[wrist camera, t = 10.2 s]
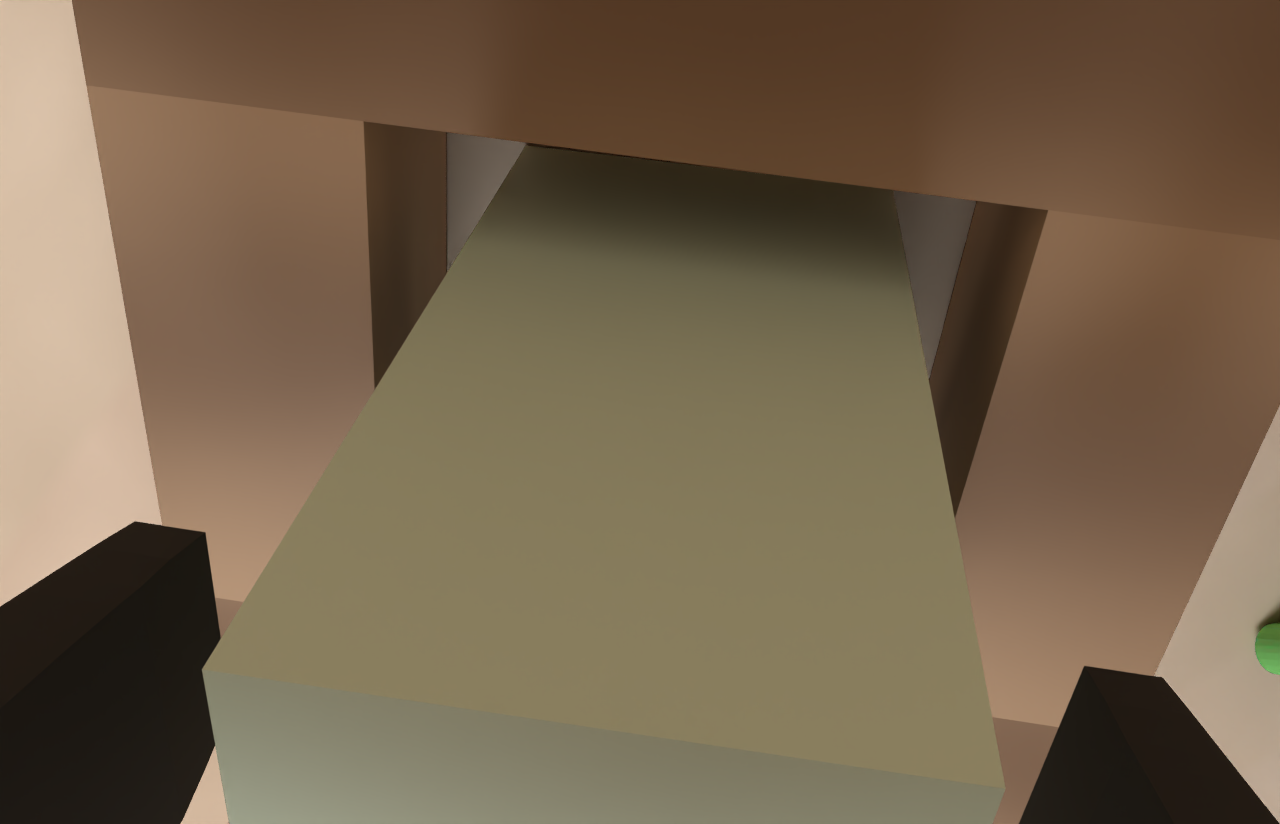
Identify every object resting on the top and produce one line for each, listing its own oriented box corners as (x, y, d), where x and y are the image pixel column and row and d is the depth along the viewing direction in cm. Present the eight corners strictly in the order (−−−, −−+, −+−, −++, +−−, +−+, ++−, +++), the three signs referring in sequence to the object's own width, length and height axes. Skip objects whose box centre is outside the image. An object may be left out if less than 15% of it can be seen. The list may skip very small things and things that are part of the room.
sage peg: (829, 488, 16) (854, 1183, 9) (518, 446, 16) (275, 1085, 9) (893, 189, 14) (1005, 788, 6) (526, 145, 14) (200, 670, 6)
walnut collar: (1023, 711, 18) (1060, 877, 15) (281, 597, 19) (199, 738, 16) (1347, -123, 11) (1501, -72, 9) (191, -253, 12) (29, -240, 10)
